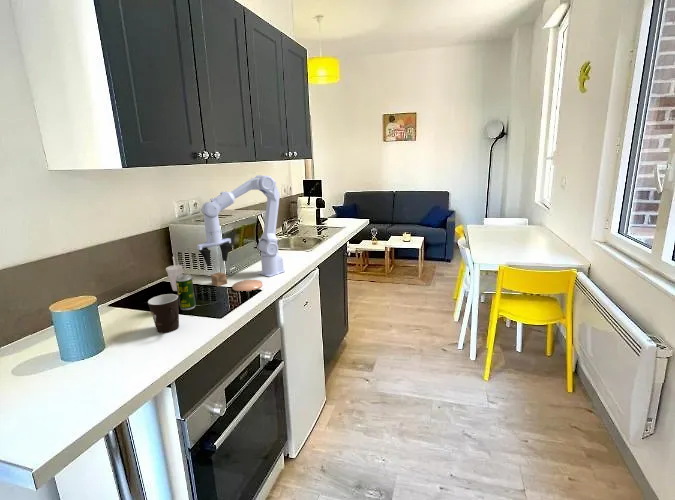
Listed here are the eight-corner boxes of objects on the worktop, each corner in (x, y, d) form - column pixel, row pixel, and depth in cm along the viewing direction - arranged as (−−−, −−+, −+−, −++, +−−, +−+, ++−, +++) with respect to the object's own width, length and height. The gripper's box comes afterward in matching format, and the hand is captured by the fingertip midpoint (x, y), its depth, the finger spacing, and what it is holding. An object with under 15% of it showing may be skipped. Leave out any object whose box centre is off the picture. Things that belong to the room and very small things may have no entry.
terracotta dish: (250, 280, 158) (250, 277, 158) (268, 285, 151) (268, 283, 151) (226, 288, 150) (226, 285, 149) (244, 294, 142) (244, 291, 142)
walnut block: (221, 281, 158) (220, 272, 157) (227, 283, 155) (226, 273, 154) (212, 284, 155) (210, 274, 154) (217, 286, 152) (216, 276, 151)
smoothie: (188, 286, 153) (184, 254, 150) (181, 292, 147) (175, 259, 143) (174, 286, 154) (169, 254, 150) (166, 292, 148) (160, 259, 144)
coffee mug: (153, 325, 118) (148, 297, 115) (182, 320, 121) (178, 292, 118) (151, 341, 107) (146, 310, 105) (183, 335, 111) (178, 304, 108)
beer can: (183, 305, 134) (178, 274, 131) (198, 304, 134) (193, 273, 131) (177, 311, 129) (172, 279, 126) (193, 310, 129) (188, 278, 126)
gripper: (223, 227, 157) (226, 257, 160) (191, 233, 146) (195, 265, 150) (232, 228, 152) (235, 259, 156) (200, 235, 142) (205, 268, 145)
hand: (216, 262), depth 153 cm, fingers open, 7 cm apart
